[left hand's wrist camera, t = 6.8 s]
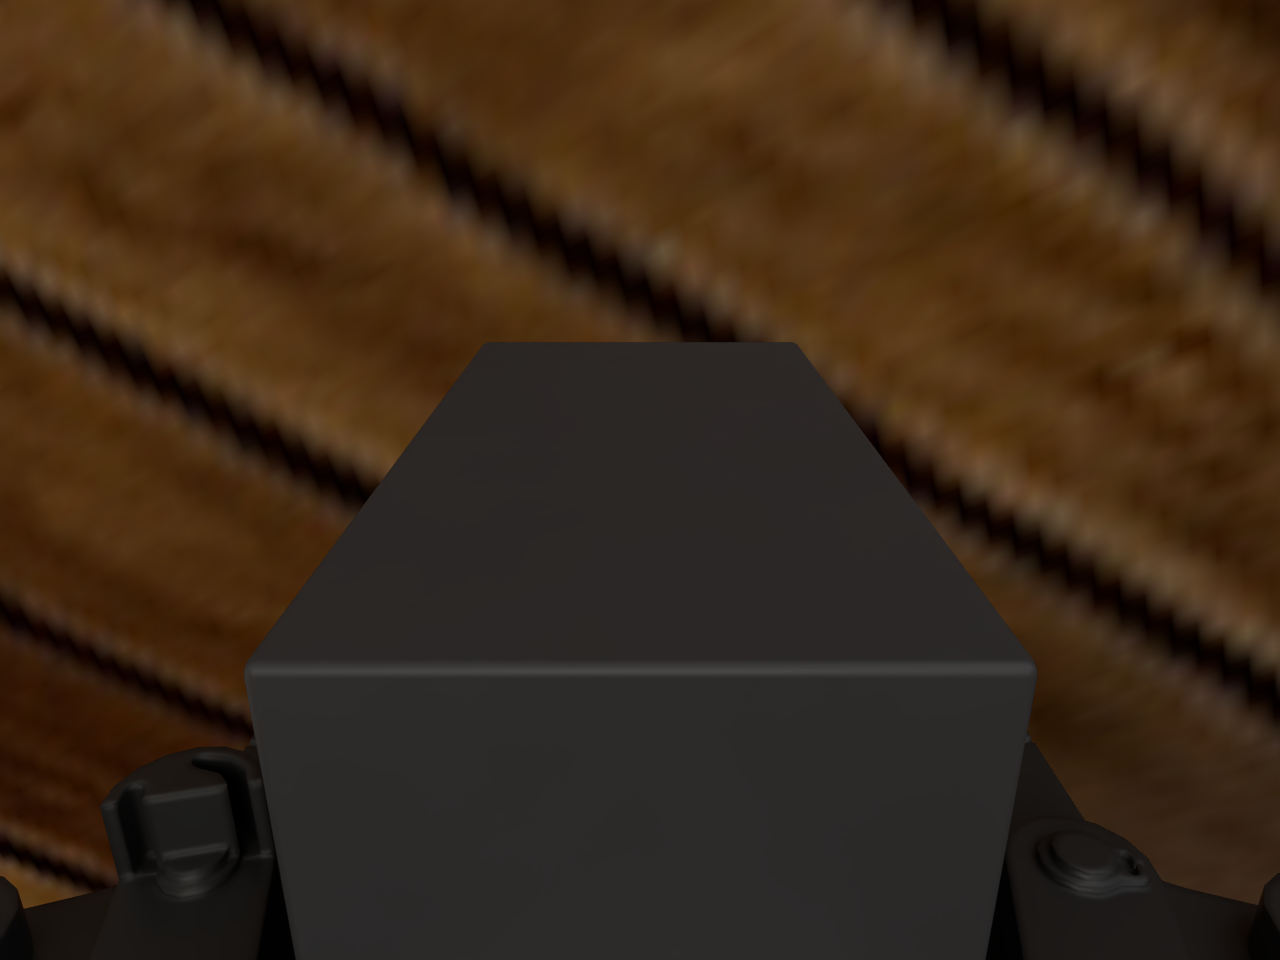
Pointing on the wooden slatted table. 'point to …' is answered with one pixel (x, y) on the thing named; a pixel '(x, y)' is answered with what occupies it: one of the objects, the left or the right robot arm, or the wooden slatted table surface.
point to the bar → (640, 682)
